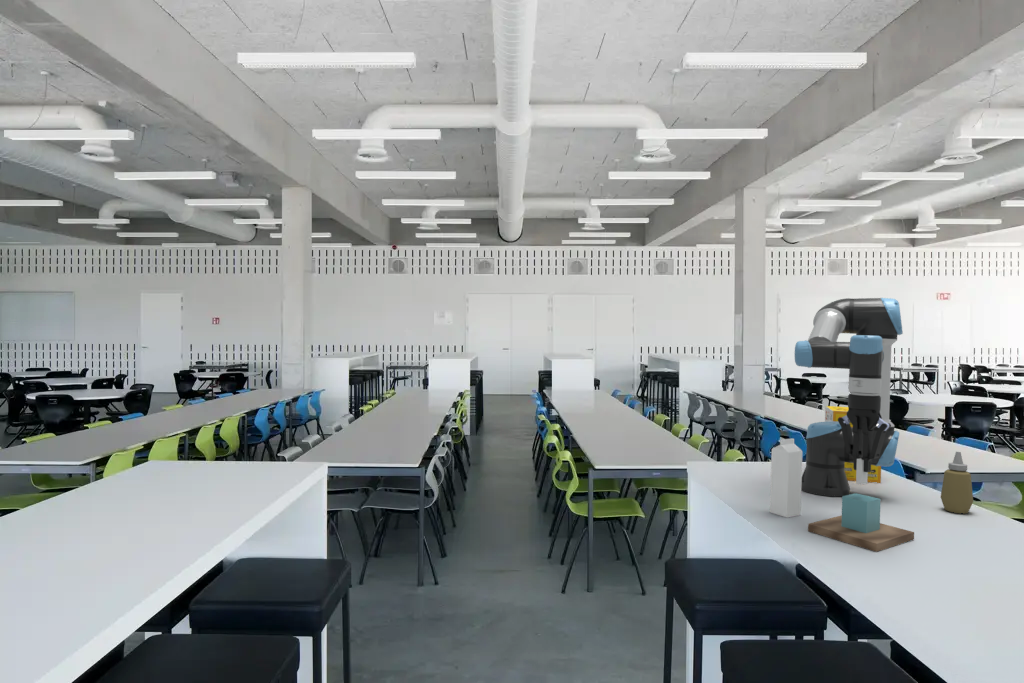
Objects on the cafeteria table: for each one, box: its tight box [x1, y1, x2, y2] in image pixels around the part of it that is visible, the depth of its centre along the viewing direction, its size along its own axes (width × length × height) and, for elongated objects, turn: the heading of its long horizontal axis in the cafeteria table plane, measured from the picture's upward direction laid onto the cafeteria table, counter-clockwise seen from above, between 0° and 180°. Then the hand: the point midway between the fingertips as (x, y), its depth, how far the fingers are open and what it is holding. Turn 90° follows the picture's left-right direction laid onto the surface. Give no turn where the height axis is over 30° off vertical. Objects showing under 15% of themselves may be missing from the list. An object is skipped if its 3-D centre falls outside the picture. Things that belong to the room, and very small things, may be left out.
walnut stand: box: [807, 514, 915, 553], centre depth 167 cm, size 18×18×8 cm
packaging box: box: [824, 405, 882, 484], centre depth 236 cm, size 16×16×25 cm
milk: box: [769, 438, 803, 519], centre depth 185 cm, size 6×6×22 cm
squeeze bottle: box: [940, 451, 974, 515], centre depth 191 cm, size 8×8×18 cm
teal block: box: [841, 492, 881, 533], centre depth 167 cm, size 6×6×8 cm
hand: (861, 483), depth 167 cm, fingers closed
